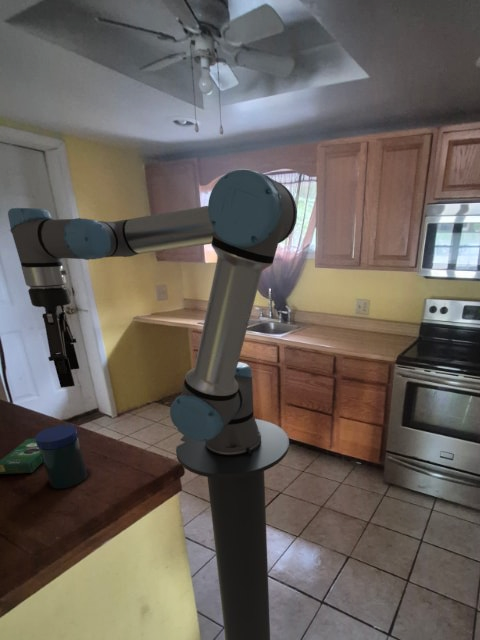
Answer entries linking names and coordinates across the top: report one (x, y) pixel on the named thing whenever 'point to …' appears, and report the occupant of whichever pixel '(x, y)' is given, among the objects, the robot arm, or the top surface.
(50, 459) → the jar
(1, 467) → the coffee box
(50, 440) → the jar lid
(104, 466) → the top surface
